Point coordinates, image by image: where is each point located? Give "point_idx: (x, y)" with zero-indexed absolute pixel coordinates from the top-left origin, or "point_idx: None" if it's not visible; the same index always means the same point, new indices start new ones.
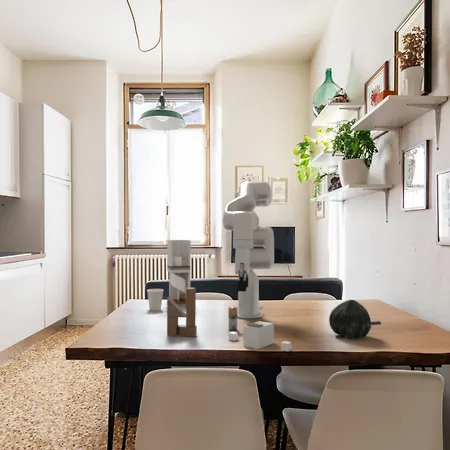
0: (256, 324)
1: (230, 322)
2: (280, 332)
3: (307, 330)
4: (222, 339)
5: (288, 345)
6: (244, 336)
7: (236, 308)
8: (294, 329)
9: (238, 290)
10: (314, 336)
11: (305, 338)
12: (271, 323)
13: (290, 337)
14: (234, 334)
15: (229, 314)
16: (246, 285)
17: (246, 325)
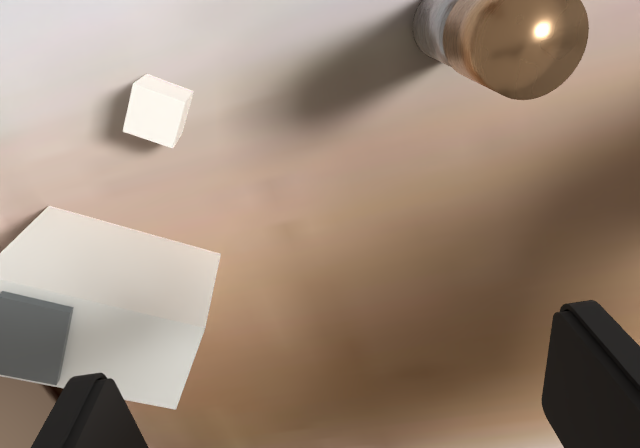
0: (43, 349)
1: (437, 14)
2: (430, 314)
3: (492, 405)
4: (137, 24)
5: None
6: (19, 239)
7: (501, 94)
8: (508, 358)
9: (76, 391)
10: (378, 440)
11: (332, 418)
12: (164, 401)
13: (332, 368)
14: (131, 132)
15: (468, 6)
16: (558, 416)
17: (8, 287)
